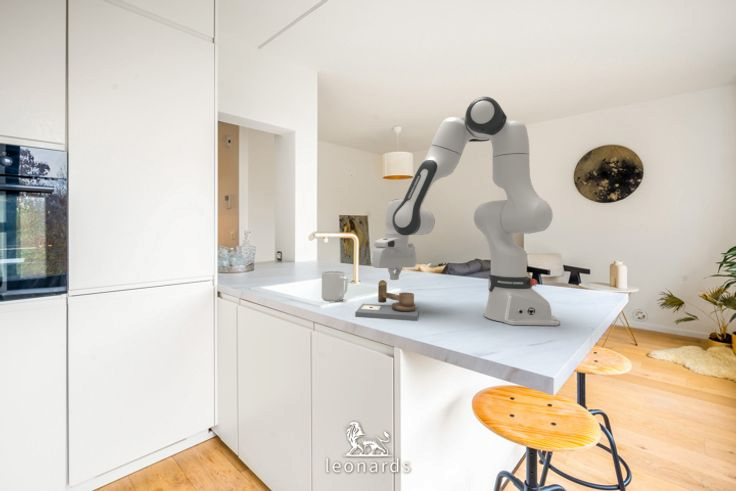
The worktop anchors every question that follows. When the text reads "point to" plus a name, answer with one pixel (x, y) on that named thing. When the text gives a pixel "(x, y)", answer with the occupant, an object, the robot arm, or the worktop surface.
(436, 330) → the worktop surface
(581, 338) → the worktop surface
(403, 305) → the brown wooden piece
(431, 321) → the worktop surface
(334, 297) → the mug
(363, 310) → the stand
